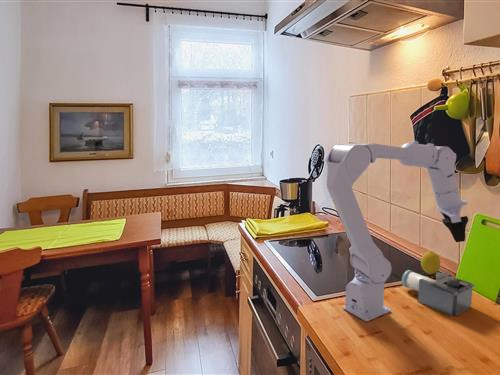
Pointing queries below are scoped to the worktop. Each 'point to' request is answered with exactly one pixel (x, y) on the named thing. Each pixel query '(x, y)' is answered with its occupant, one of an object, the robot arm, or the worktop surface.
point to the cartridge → (413, 280)
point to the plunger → (453, 282)
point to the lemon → (430, 262)
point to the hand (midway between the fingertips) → (457, 234)
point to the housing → (445, 295)
